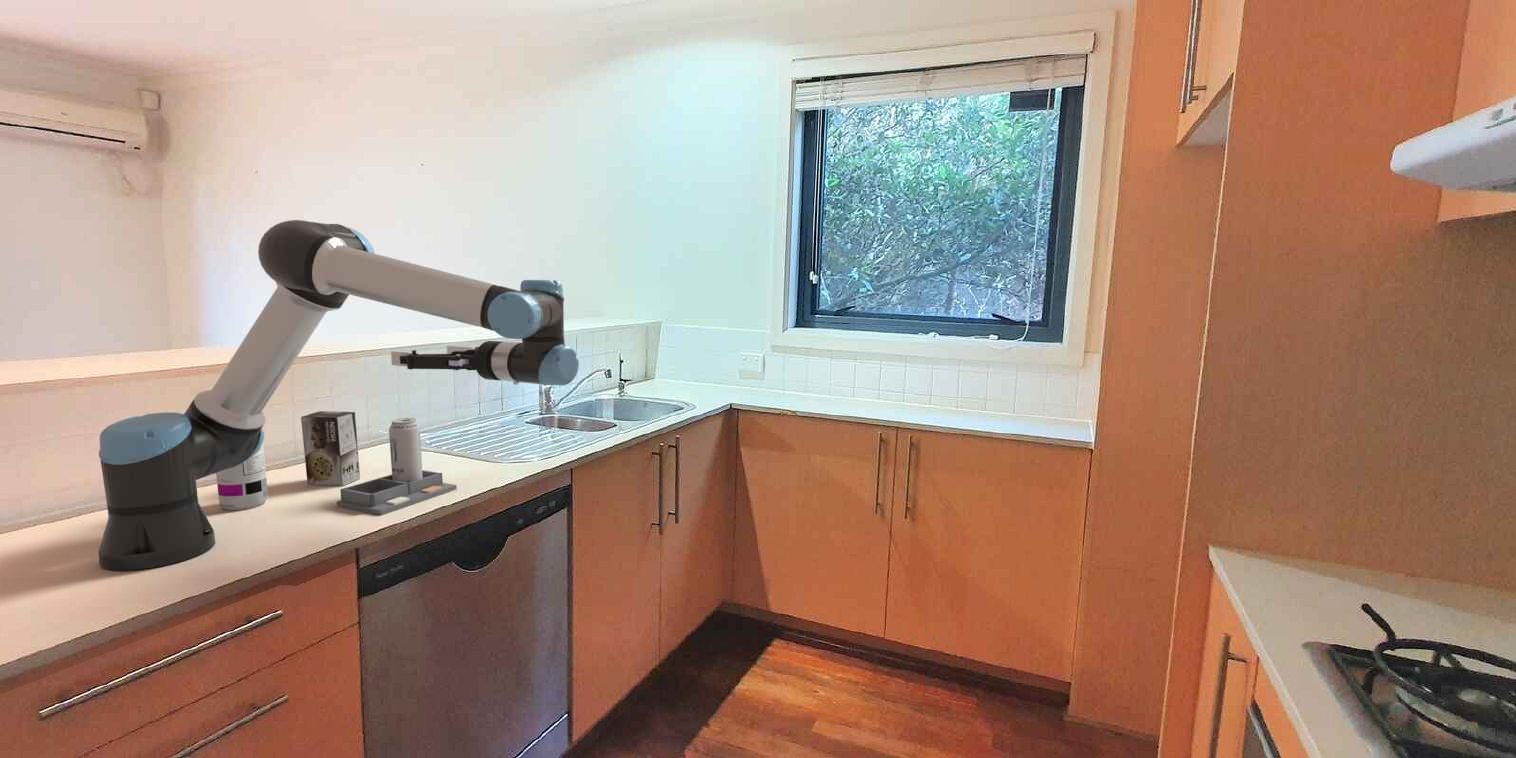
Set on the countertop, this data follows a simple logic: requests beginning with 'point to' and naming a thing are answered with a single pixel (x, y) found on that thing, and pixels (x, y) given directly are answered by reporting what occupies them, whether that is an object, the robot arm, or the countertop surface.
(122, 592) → the countertop surface
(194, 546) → the robot arm
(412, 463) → the energy drink can
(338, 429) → the coffee box
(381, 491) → the tray
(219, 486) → the supplement can
